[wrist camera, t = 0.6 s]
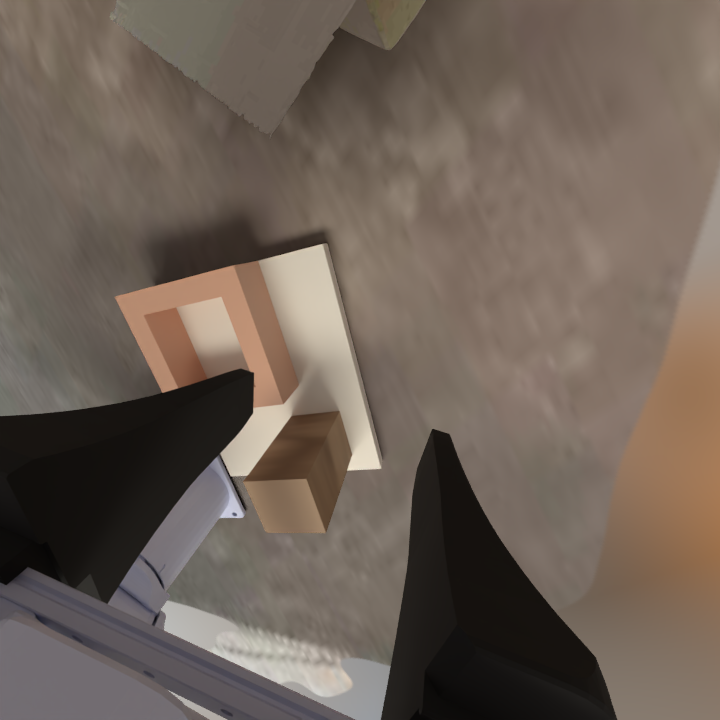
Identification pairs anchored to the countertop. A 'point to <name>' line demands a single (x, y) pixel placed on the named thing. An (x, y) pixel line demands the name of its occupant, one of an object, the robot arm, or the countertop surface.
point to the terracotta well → (248, 317)
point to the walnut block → (301, 474)
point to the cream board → (293, 357)
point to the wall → (258, 43)
